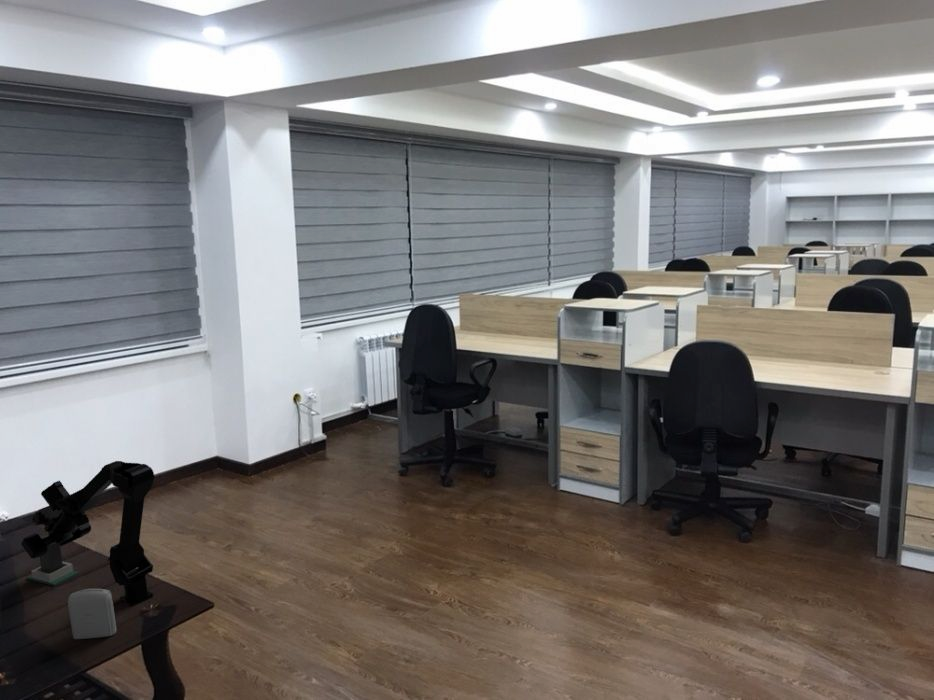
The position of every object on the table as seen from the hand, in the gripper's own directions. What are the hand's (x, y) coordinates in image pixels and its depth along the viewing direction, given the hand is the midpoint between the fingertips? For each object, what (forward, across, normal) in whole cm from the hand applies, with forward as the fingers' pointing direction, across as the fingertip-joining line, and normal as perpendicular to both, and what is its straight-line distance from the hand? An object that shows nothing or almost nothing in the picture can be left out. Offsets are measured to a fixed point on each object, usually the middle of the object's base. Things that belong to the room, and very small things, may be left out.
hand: (46, 551), depth 219 cm
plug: (+4, 0, +6) cm, 7 cm away
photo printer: (-23, +17, +34) cm, 45 cm away
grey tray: (+4, 0, +6) cm, 8 cm away
